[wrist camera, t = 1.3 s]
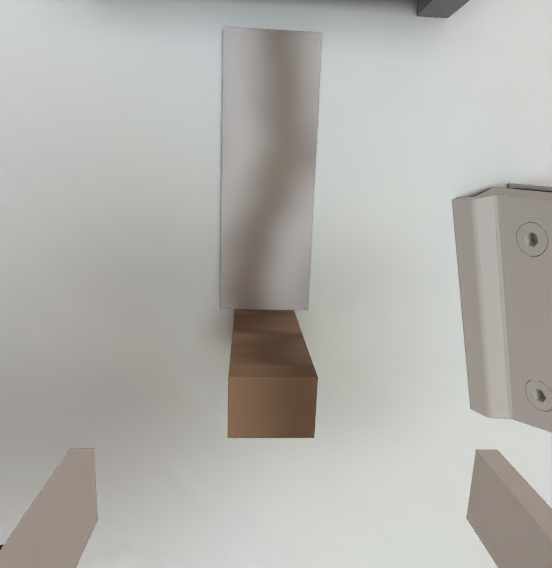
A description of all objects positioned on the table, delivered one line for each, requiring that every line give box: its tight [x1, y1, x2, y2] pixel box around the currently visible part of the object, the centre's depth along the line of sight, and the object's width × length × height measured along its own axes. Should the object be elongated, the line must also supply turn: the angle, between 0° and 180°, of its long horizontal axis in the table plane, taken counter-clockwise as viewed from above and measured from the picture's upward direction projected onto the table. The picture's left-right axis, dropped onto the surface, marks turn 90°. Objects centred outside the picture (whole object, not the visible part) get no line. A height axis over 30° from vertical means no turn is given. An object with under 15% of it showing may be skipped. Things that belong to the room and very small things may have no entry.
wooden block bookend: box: [220, 27, 322, 438], centre depth 25 cm, size 6×20×12 cm, turn 178°
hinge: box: [452, 184, 552, 432], centre depth 30 cm, size 17×5×10 cm, turn 10°
